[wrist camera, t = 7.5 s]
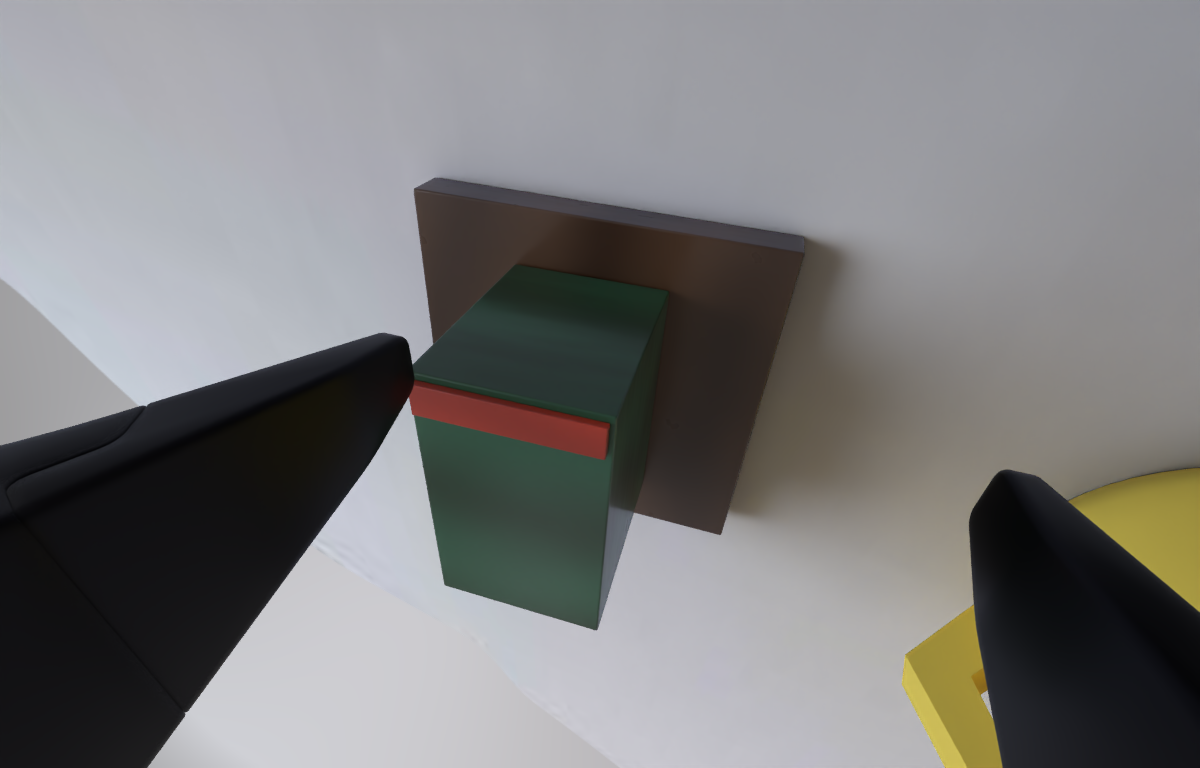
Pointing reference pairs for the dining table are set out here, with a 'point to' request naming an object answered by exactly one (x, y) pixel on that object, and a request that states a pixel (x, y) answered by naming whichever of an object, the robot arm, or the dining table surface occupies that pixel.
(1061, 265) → the dining table surface
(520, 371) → the green box
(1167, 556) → the teapot
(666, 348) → the brown square board
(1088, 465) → the dining table surface
